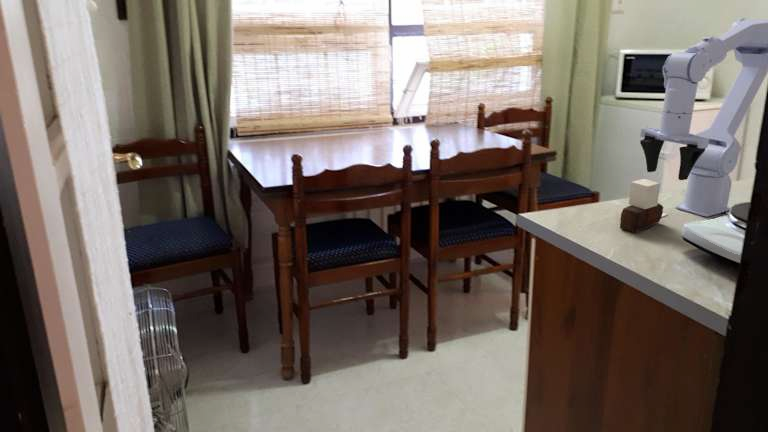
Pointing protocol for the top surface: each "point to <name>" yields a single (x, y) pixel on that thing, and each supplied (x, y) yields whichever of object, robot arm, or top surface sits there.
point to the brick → (640, 217)
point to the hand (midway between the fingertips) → (666, 175)
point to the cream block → (644, 193)
